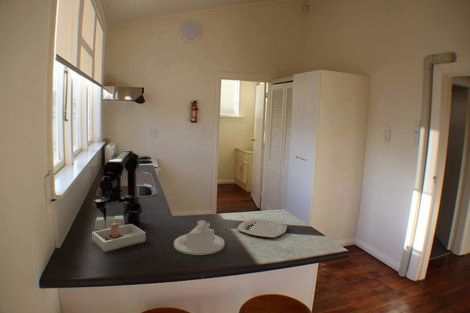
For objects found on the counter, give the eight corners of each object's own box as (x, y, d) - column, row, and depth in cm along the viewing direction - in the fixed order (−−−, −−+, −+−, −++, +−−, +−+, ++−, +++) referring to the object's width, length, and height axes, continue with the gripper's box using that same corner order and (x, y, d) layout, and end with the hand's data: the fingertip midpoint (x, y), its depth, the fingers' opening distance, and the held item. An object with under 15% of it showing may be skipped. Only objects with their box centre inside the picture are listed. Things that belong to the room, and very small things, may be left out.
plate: (230, 232, 165) (230, 229, 165) (250, 219, 189) (250, 216, 189) (276, 243, 153) (276, 239, 153) (292, 228, 177) (292, 224, 177)
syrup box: (95, 230, 160) (124, 228, 165) (95, 220, 159) (124, 218, 164) (96, 227, 165) (124, 225, 170) (96, 216, 165) (124, 215, 170)
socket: (119, 236, 151) (119, 232, 151) (125, 240, 146) (125, 236, 146) (105, 239, 146) (105, 235, 146) (110, 244, 141) (110, 240, 141)
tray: (131, 231, 160) (131, 223, 160) (145, 241, 149) (145, 232, 148) (92, 240, 147) (92, 232, 146) (104, 251, 135) (104, 242, 135)
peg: (117, 238, 149) (117, 222, 148) (120, 240, 146) (120, 224, 145) (109, 239, 146) (109, 223, 146) (112, 242, 144) (112, 226, 143)
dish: (197, 231, 165) (197, 211, 164) (234, 243, 151) (235, 221, 150) (163, 245, 145) (163, 223, 144) (202, 260, 131) (202, 235, 130)
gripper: (126, 182, 156) (126, 211, 157) (88, 186, 143) (88, 218, 144) (136, 186, 148) (136, 216, 149) (96, 190, 135) (96, 224, 136)
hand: (114, 218), depth 145 cm, fingers open, 9 cm apart
